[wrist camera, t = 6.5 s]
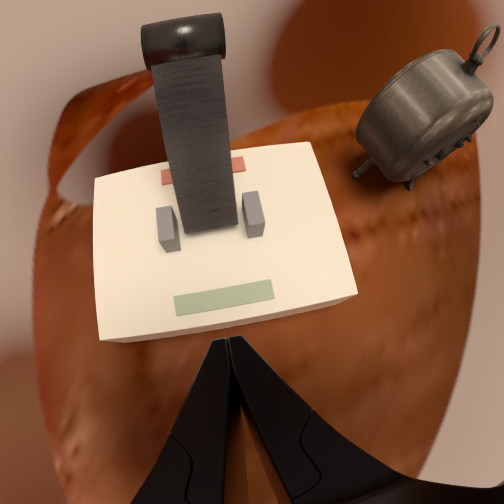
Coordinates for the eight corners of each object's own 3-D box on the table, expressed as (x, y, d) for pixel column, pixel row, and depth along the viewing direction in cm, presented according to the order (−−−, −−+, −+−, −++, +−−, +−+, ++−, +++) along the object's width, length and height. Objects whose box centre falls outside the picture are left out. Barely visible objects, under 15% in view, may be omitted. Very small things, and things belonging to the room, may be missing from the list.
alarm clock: (411, 130, 25) (489, 6, 9) (446, 173, 23) (546, 59, 8) (331, 166, 23) (412, -19, 7) (372, 222, 21) (509, 57, 6)
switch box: (335, 304, 19) (371, 286, 14) (125, 342, 18) (84, 338, 12) (298, 174, 22) (315, 124, 17) (115, 205, 21) (84, 163, 15)
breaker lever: (243, 228, 15) (222, 10, 8) (180, 239, 15) (138, 23, 8) (237, 205, 17) (217, 15, 10) (181, 215, 17) (146, 26, 10)
